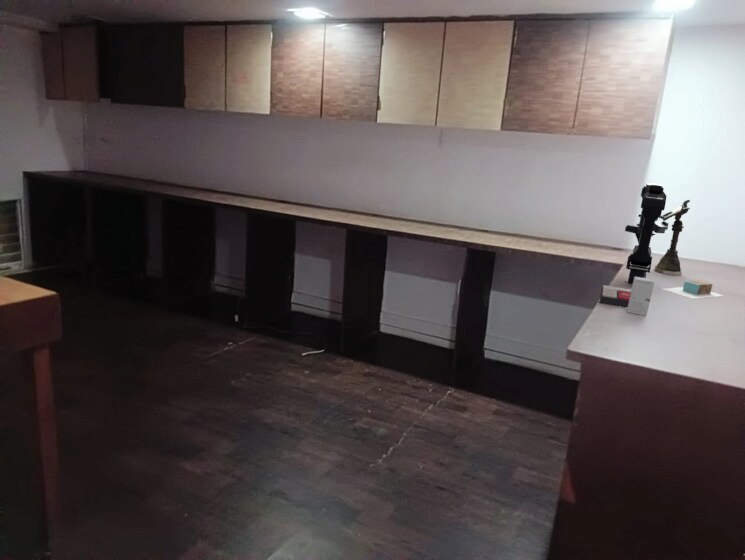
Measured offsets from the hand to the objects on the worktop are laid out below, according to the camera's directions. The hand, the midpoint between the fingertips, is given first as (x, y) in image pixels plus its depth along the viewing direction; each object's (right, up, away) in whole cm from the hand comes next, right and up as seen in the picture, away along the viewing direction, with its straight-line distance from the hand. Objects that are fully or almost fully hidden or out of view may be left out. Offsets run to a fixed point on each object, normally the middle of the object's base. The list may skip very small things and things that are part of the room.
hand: (641, 248), depth 249 cm
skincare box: (-26, -25, -52) cm, 64 cm away
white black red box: (-28, -22, -39) cm, 53 cm away
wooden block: (+11, -17, -20) cm, 28 cm away
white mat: (+12, -19, -18) cm, 29 cm away
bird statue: (+19, -10, +20) cm, 30 cm away
